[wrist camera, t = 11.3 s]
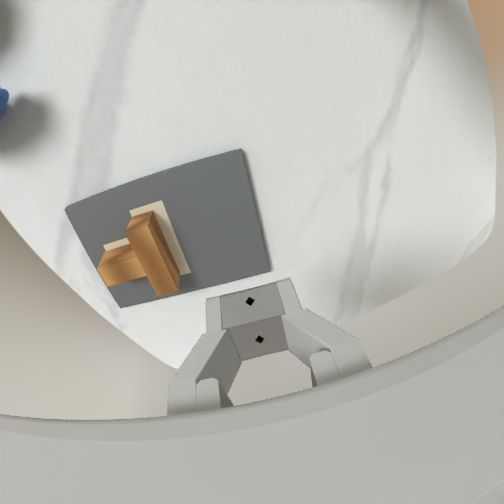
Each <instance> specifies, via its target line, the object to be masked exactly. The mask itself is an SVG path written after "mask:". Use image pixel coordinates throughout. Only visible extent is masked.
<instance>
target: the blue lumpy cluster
mask: <svg viewBox="0 0 504 504" xmlns="http://www.w3.org/2000/svg"><path fill="white" fill-rule="evenodd" d="M8 98H9V93H8V91H7V90H5V89H1V88H0V118H1V116H2V113H3V110H4V109H5V107H6V104H7V102H8Z"/></svg>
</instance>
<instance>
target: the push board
mask: <svg viewBox="0 0 504 504" xmlns="http://www.w3.org/2000/svg"><path fill="white" fill-rule="evenodd" d="M151 210H153V212H154V214H155V217H156V219H157V221H158V224H159V226H160V228H161V231H162V233H163V235H164V238H165V240H166V242H167V244H168V247H169V249H170V251H171V253H172V256H173V258H174V260H175V262H176V264H177V266H178V269H179V271H180V278H179V290H178V291H175V292H171V293H167V294H163V295H159V296H157V294H156V292H155V290H154V288H153V287H152V285H151V283H150V281H149V279H148V277H147V276H144V277H141V278H137V279H133V280H130V281H126V282H122V283H119V284H115V285H111V286H108V287H107V288H108V289H109V291H110V293H111V294H112V296H113V297H114V299H115V301H116V302H117V304H118V305H119V307H120V308H123V307H128V306H132V305H136V304H141V303H145V302H149V301H153V300H158V299H162V298H166V297H170V296H174V295H179V294H183V293H187V292H191V291H195V290H199V289H203V288H207V287H211V286H215V285H219V284H223V283H227V282H231V281H235V280H239V279H243V278H247V277H251V276H255V275H258V274H262V273H266V272H270V269H269V264H268V260H267V256H266V251H265V247H264V243H263V238H262V234H261V230H260V226H259V221H258V217H257V213H256V209H255V204H254V200H253V196H252V192H251V188H250V184H249V179H248V175H247V171H246V167H245V163H244V159H243V155H242V151H241V149H237V150H233V151H230V152H226V153H222V154H218V155H214V156H211V157H207V158H204V159H200V160H197V161H193V162H190V163H186V164H183V165H180V166H177V167H173V168H170V169H167V170H164V171H161V172H158V173H155V174H152V175H149V176H146V177H143V178H140V179H137V180H134V181H131V182H128V183H125V184H123V185H120V186H117V187H115V188H112V189H109V190H107V191H104V192H101V193H99V194H96V195H94V196H91V197H89V198H86V199H84V200H81V201H79V202H76V203H74V204H71V205H69V206H67V207H66V208H65V212H66V214H67V216H68V218H69V220H70V222H71V224H72V226H73V228H74V230H75V231H76V233H77V235H78V237H79V239H80V241H81V243H82V245H83V247H84V248H85V250H86V252H87V254H88V256H89V257H90V259H91V261H92V263H93V264H94V266H95V268H96V270H97V267H98V265H99V263H100V261H101V258H102V256H103V254H104V252H105V251H108V250H111V249H114V248H117V247H120V246H124V245H127V244H130V243H129V241H128V239H127V237H126V235H125V231H126V229H127V226H128V224H129V222H130V220H131V217H133V216H136V215H139V214H142V213H145V212H148V211H151ZM97 271H98V270H97ZM98 273H99V272H98ZM99 275H100V274H99ZM100 276H101V275H100ZM101 278H102V277H101ZM102 280H103V279H102ZM103 281H104V280H103ZM104 283H105V282H104ZM105 285H106V283H105ZM106 286H107V285H106Z"/></svg>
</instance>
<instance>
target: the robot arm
mask: <svg viewBox="0 0 504 504" xmlns="http://www.w3.org/2000/svg"><path fill="white" fill-rule="evenodd" d="M205 303H206V332H207V333H206V334H202V336H201V337H200V339H199V340H198V342H197V343H196V345H195V346H194V347H193V349H192V350H191V352H190V353H189V355H188V356H187V358H186V359H185V361H184V362H183V363H182V365H181V366H180V368H179V369H178V371H177V372H176V374H175V375H174V377H173V378H172V379H171V381H170V383H169V384H168V410H167V411H168V412H167V416H160V417H149V418H136V419H116V420H59V419H41V418H28V417H19V416H10V415H3V414H0V504H504V306H502V307H500V308H499V309H497V310H495V311H493V312H492V313H490V314H488V315H486V316H485V317H483V318H481V319H479V320H478V321H476V322H474V323H472V324H470V325H468V326H467V327H464V328H463V329H460V330H458V331H456V332H455V333H453V334H450V335H448V336H446V337H444V338H442V339H440V340H438V341H436V342H434V343H432V344H430V345H427V346H425V347H423V348H420V349H418V350H416V351H414V352H411V353H409V354H406V355H404V356H402V357H399V358H397V359H394V360H392V361H389V362H387V363H384V364H381V365H379V366H376V367H372V365H371V363H370V361H369V359H368V357H367V355H366V352H365V350H364V348H363V346H362V344H361V342H360V340H359V339H358V338H357V337H355V336H353V335H352V334H349V333H348V332H346V331H345V330H342V329H341V328H339V327H338V326H336V325H334V324H332V323H331V322H329V321H327V320H325V319H324V318H322V317H320V316H319V315H317V314H315V313H313V312H312V311H310V310H308V309H307V308H306V309H303V310H302V307H301V305H300V302H299V299H298V297H297V294H296V291H295V289H294V286H293V284H292V281H291V279H290V278H286V279H283V280H279V281H276V282H273V283H269V284H266V285H262V286H258V287H254V288H251V289H247V290H242V291H238V292H233V293H229V294H224V295H220V296H217V297H212V298H208V299H206V302H205ZM285 350H289V351H290V352H291V353H292V354H293V355H295V356H296V357H297V358H298V359H299V360H301V361H302V362H303V363H304V364H305V365H307V366H308V367H309V368H310V369H311V377H312V388H309V389H305V390H302V391H298V392H294V393H290V394H286V395H283V396H278V397H275V398H270V399H266V400H261V401H256V402H252V403H247V404H242V405H237V406H234V405H233V404H232V402H231V400H230V399H229V398H228V396H227V394H228V392H229V390H230V388H231V385H232V383H233V381H234V379H235V377H236V374H237V372H238V370H239V368H240V365H241V363H242V362H241V361H244V360H248V359H252V358H256V357H259V356H263V355H267V354H272V353H276V352H281V351H285Z"/></svg>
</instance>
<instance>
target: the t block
mask: <svg viewBox="0 0 504 504" xmlns="http://www.w3.org/2000/svg"><path fill="white" fill-rule="evenodd" d="M125 235H126V237H127V239H128V241H129V243H130V244H127V245H124V246H120V247H117V248H114V249H111V250H108V251H105V252H104V254H103V256H102V258H101V261H100V263H99V265H98V267H97V270H98V272H99V274H100V275H101V277H102V279H103V280H104V282H105V283H106V285H107V287H108V286H111V285H115V284H119V283H122V282H126V281H130V280H133V279H137V278H141V277H144V276H147V277H148V279H149V281H150V283H151V285H152V287H153V288H154V290H155V292H156V294H157V296H159V295H163V294H167V293H171V292H175V291H178V290H179V278H180V271H179V269H178V266H177V264H176V262H175V260H174V258H173V256H172V253H171V251H170V249H169V247H168V244H167V242H166V240H165V238H164V235H163V233H162V231H161V228H160V226H159V224H158V221H157V219H156V217H155V214H154V212H153V210H151V211H148V212H145V213H142V214H139V215H136V216H133V217H131V220H130V222H129V224H128V226H127V229H126V231H125Z"/></svg>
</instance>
